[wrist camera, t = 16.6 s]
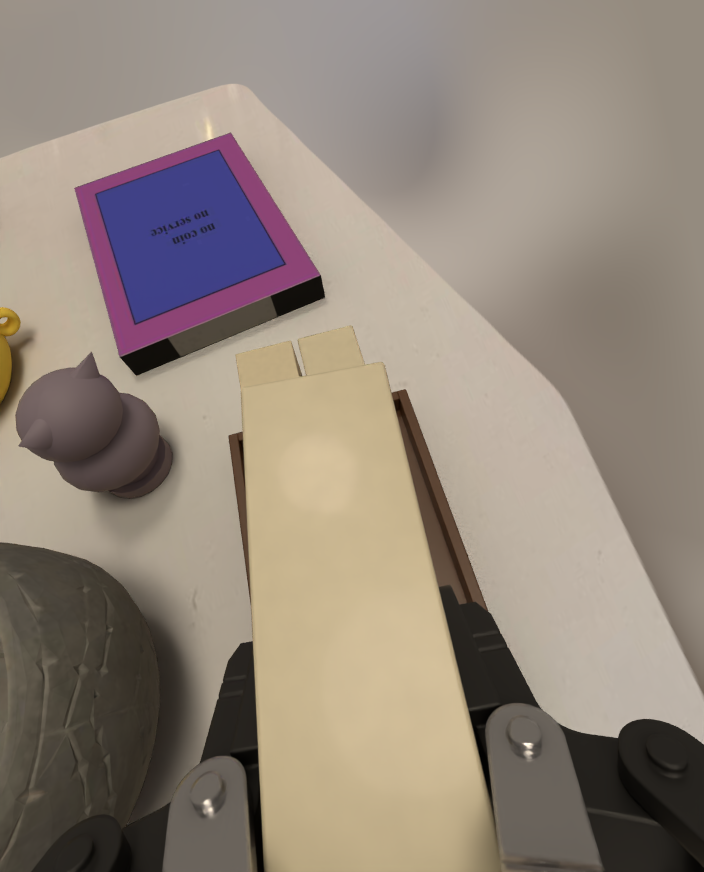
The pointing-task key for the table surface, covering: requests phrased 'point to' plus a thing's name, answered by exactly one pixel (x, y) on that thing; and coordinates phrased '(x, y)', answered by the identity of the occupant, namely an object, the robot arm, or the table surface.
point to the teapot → (6, 348)
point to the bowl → (69, 699)
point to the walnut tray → (431, 500)
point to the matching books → (316, 353)
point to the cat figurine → (93, 432)
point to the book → (191, 252)
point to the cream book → (352, 643)
